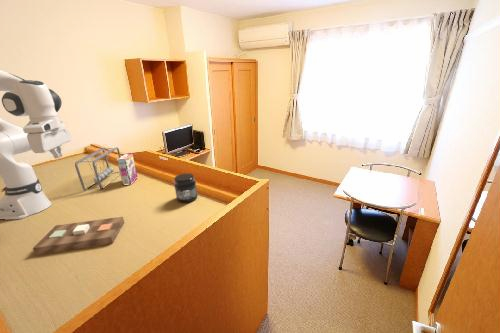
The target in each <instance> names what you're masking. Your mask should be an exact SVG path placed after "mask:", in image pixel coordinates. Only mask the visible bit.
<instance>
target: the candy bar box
mask: <svg viewBox="0 0 500 333" xmlns="http://www.w3.org/2000/svg"><path fill="white" fill-rule="evenodd" d="M116 161H117V166H118V169H119V171H118V172H119V173H120V175H119V176H120V179H121V182H122V185H123V184H131V183H132V182H133V181H134V179H135V178H136V177H138V172H137V168H136V163H135V159H134V154H133V153H126V154H125V153H124V154H123V155H121V157H120V158H119V157H118V158H117V159H116ZM134 182H135V181H134ZM134 182H133V183H134ZM133 183H132V184H133ZM132 184H131V185H132Z"/></svg>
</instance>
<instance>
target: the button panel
mask: <svg viewBox="0 0 500 333" xmlns="http://www.w3.org/2000/svg"><path fill="white" fill-rule="evenodd" d="M111 223H112V224H113V225H112V227H111V228H110V230H107V231H100V232H98V229H99V228H100V226H101V225H104V224H111ZM85 224H89V226H90V228H89V230H88V231H87V232H86V234H79V235H74V234H73V230H74V229H75V228H76V227H77V226H78V225H85ZM124 224H125V219H124V216H119V217H117V216H115V217H109V218H103V219H95V220H87V221H81V222H71V223H65V224H57V225H55V226H54V227H52V229H50V230H49V232H47V233H46V235H44V236H43V237H42V238H41V240H39V241H38V242H37V243H36V244H35V245H34V246H33V247H32V250H33V252H34V254H35V256H38V255H44V254H45V255H46V254H50V253H57V252H64V251H69V250H71V251H72V250H78V249H85V248H92V247H97V246H102V245H111V244H114V243H115V240H116V238H117V237H118V236H119V233H120V232H121V229H122V228H123V226H124ZM60 230H67V231H66V232H65V233H64V234H63V236H62V237H58V238H51V239H49V237H50V236H51V235H52V234H53V233H54V232H55V231H60Z"/></svg>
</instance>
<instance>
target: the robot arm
mask: <svg viewBox="0 0 500 333" xmlns="http://www.w3.org/2000/svg"><path fill="white" fill-rule="evenodd" d="M1 91H2V92H4V94H3V95H2V97H1V104H2V106H3V108H4V110H5V111H6V112H7V113H9V114H10V115H13V116H15V117H26V116H27V117H28V119H29V121H28V122H27V124H25V126H24V127H20V126H18V125H15V124H13V123H10V122H8V121H7V120H4V119H3V118H1V117H0V177H1V179H2V181H3V182H4V184H5V187H3V188H2V189H1V190H0V191H1V193H3V192H4V195H3V196H2V197H1V198H0V219H5V220H20V219H24V218H27V217H29V216H31V215H34V214H37V213H39V212H42V211H44V210H47V209H48V208H50V207H51V205H52V201H51V200H49V198H48V197H47V196H46V194H45V192H44V190H43V188H42V184H41V182H40V180H39V178H38V177H37V175H36V173H35V170H34V168H33V166H32V165H31V164H29V163H27V162H25V161H24V162H23V161H18V160H17V161H16V160H15V158H14V157H13V156H15V155H19V154H23V153H27V152H30V151H32V152H33V153H35V154H45V153H46V152H50V154H52V156H53V159H60V158H61V157H63V146H62V145H65V144H66V143H70V142H71V141H72V136H71V134H70V132H69V129H68V127H67V126H66V125H65V124H64V122H63V121H61V119H60V116H59V114H58V112H59V110H60V109H61V107H62V104H63V103H62V99H61V97H60V96H59V95H58V93H56V92H55V91H54V90H53V89H50V88H49V87H48V86H47V84H46V83H45V82H43V81H41V80H40V81H39V80H31V79H29V80H28V79H27V80H26V79H24V78H22V77H20V76H17V75H15V74H12V73H10V72H6V71H4V70H1V69H0V92H1Z"/></svg>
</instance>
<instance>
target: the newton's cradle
mask: <svg viewBox="0 0 500 333" xmlns="http://www.w3.org/2000/svg"><path fill="white" fill-rule="evenodd" d="M115 151H117V154H118V159H119V158H120V157H122V155H121V152H120V148H118V147H116V146H115V147H109V148H107V150H106V149H105V148H99V149H97V150H96V151H93V152H92V153H89V154H87V155H86V156H84V157H82V158H81V159H78V160H77V161H75V163H74V167H75V170H76V172H77V175H78V179H79V182H80V185H81V188H82V190H83V191H87V190H86V189H87V188H88V187H89V186H90V185H88V186H87V187H86V186H85V183H84V180H83V178H82V174H81V171H80V169H79V166H78V165H79V163H88V165H89V166H90V168H91V170H93V172H94V175H95V177H94V178H93V183H94V182H95V183H96V184H98V186H99V187H98V188H100V190H103V189H102V188H103V186H102V183H101V181H102V180H104V179H105V178H107V177H108V176H109V175H110V174H113V173H112V172H115V171H114V168H113V167H112V166H110V163H109V162H111V161H110V159H111V158H110V156H109V155H110V154H111V153H113V152H115ZM107 156H109V161H108V157H107ZM93 157H94V158H93ZM89 159H90V160H89ZM103 160H105V164H106V165H105V164H104V161H103ZM91 162H92V166H91V164H90V163H91ZM97 162H101V163H102V166H103V168H104V170H102V168H99V169H100V170H99V171H100V172H98V168H97V165H96V163H97ZM92 167H93V169H92ZM101 171H102V172H101Z"/></svg>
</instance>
